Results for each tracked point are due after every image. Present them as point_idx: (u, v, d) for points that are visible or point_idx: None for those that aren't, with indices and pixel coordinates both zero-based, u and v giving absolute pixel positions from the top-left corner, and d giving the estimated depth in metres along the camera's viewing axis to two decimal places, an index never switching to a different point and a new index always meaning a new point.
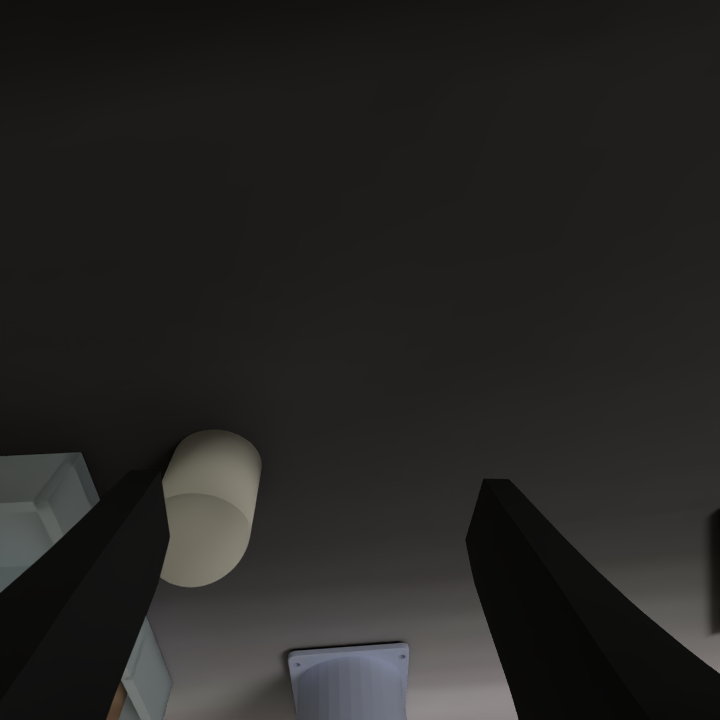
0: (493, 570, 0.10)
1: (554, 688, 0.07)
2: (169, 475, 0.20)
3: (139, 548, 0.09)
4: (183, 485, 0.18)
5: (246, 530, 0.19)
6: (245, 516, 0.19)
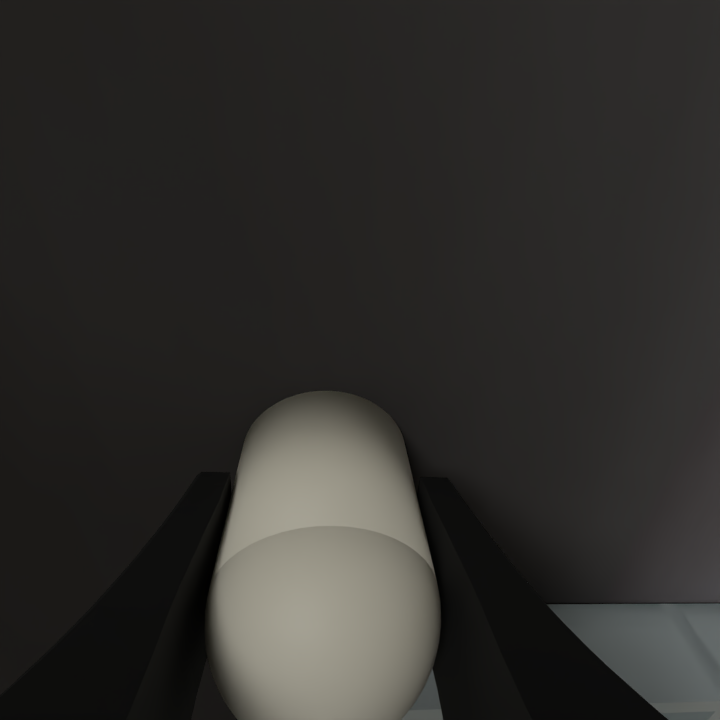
0: None
1: (468, 690, 0.07)
2: None
3: (216, 549, 0.09)
4: None
5: (315, 547, 0.07)
6: (291, 530, 0.07)
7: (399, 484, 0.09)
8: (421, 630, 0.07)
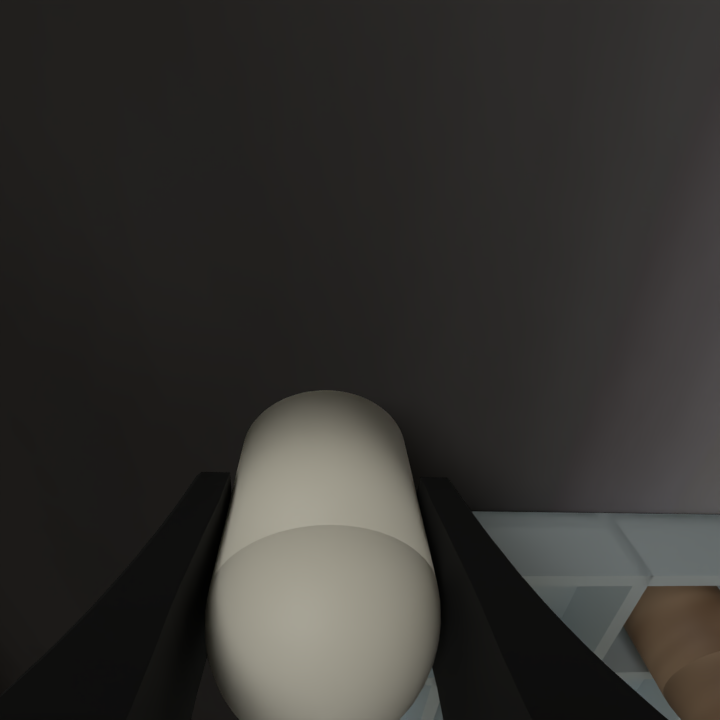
0: None
1: (468, 690, 0.07)
2: None
3: (216, 549, 0.09)
4: None
5: (315, 546, 0.07)
6: (291, 529, 0.07)
7: (399, 484, 0.09)
8: (421, 629, 0.07)
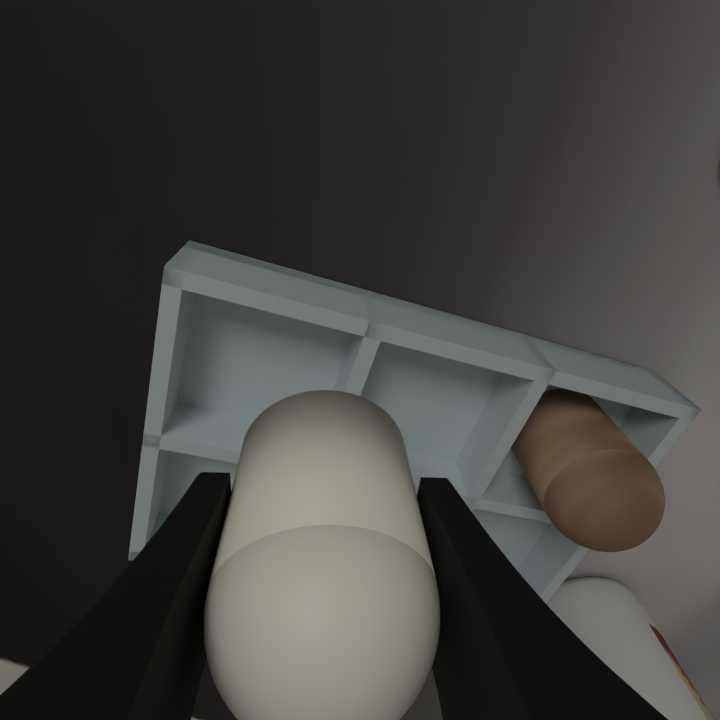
0: None
1: (468, 691, 0.07)
2: None
3: None
4: None
5: (314, 546, 0.07)
6: (290, 528, 0.07)
7: (399, 483, 0.09)
8: (420, 629, 0.07)
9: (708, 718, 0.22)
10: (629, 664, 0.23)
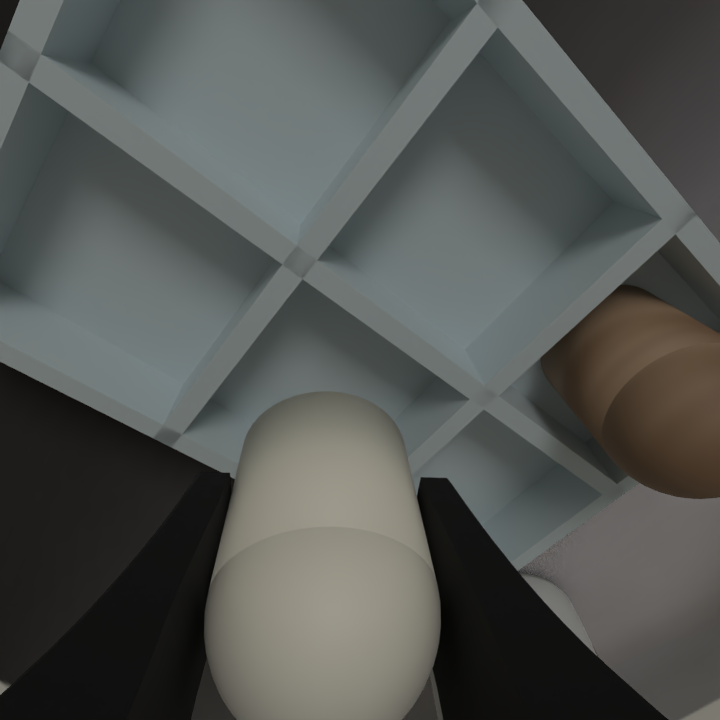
0: None
1: (468, 691, 0.07)
2: None
3: (217, 549, 0.09)
4: None
5: (315, 548, 0.07)
6: (291, 531, 0.07)
7: (399, 485, 0.09)
8: (421, 631, 0.07)
9: None
10: None
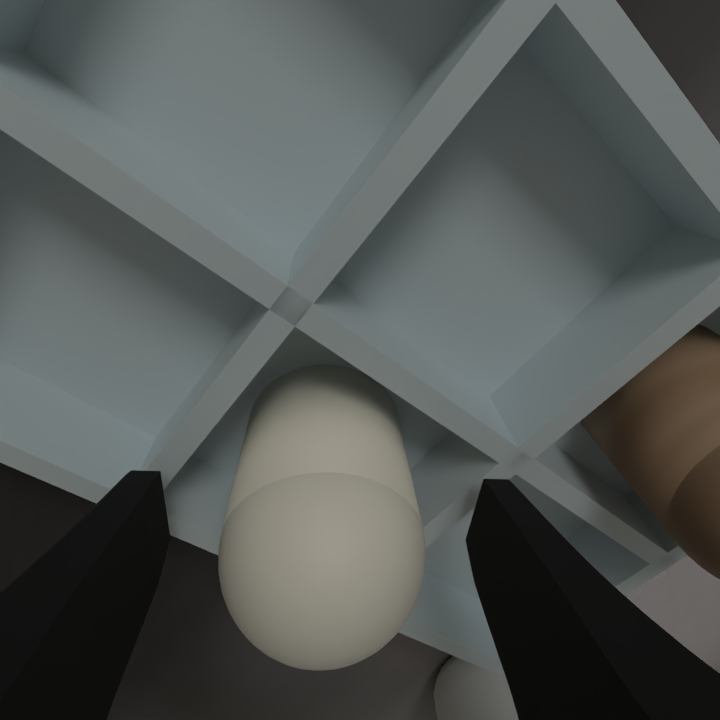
0: (493, 571, 0.10)
1: (553, 688, 0.07)
2: None
3: (139, 548, 0.09)
4: None
5: (315, 489, 0.08)
6: (294, 476, 0.09)
7: (390, 444, 0.10)
8: (407, 561, 0.08)
9: None
10: None
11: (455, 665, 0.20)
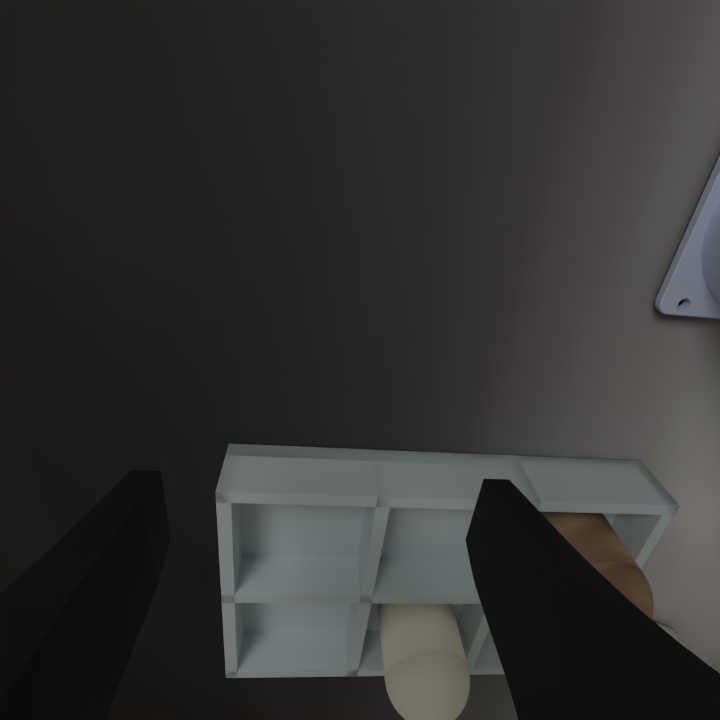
0: (493, 570, 0.10)
1: (554, 688, 0.07)
2: None
3: (139, 548, 0.09)
4: None
5: (406, 666, 0.22)
6: (398, 661, 0.22)
7: (433, 620, 0.23)
8: (450, 680, 0.21)
9: None
10: None
11: None
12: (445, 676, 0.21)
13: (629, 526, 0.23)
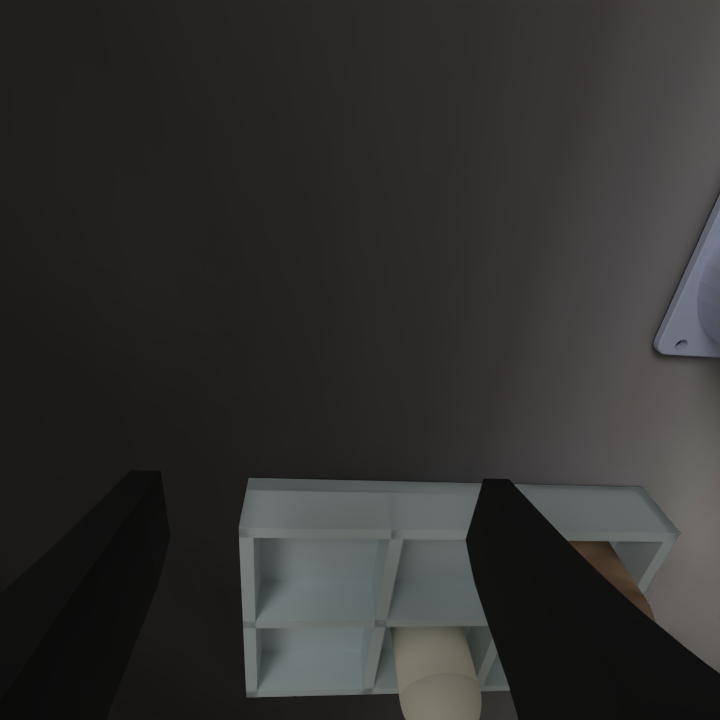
0: (493, 571, 0.10)
1: (554, 688, 0.07)
2: None
3: (139, 549, 0.09)
4: None
5: (420, 687, 0.23)
6: (412, 682, 0.23)
7: (445, 642, 0.24)
8: (463, 701, 0.22)
9: None
10: None
11: None
12: (458, 697, 0.22)
13: (632, 550, 0.24)
